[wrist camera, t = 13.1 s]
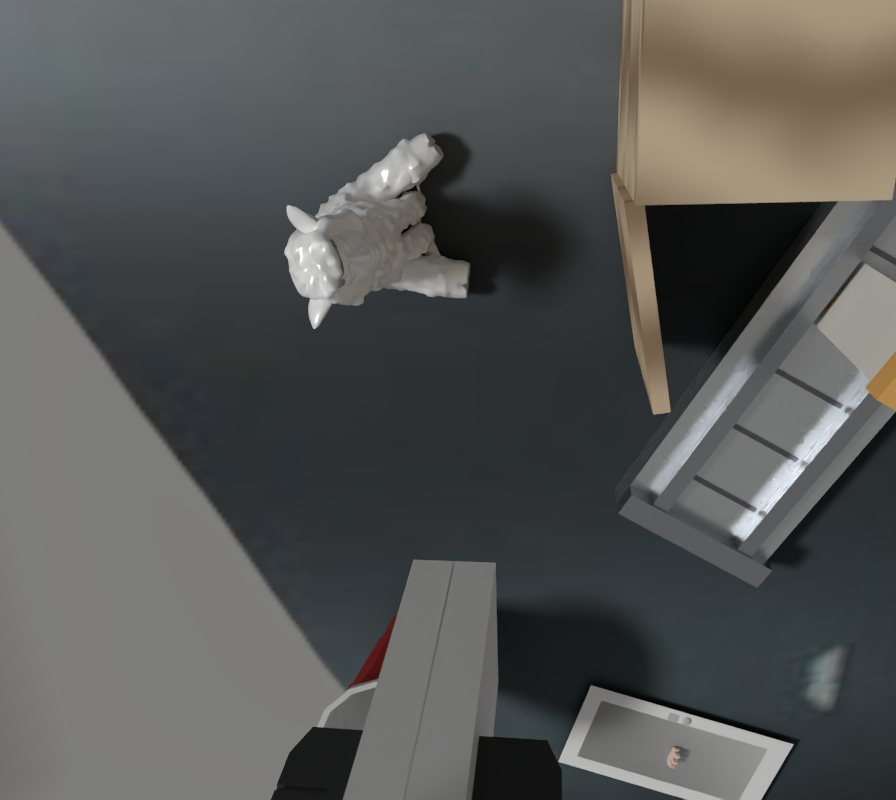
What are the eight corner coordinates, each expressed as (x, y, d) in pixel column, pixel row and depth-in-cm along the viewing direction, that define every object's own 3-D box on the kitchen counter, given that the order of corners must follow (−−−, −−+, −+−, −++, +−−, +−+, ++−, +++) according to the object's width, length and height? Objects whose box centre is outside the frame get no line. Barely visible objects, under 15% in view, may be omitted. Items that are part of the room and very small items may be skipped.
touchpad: (746, 805, 61) (753, 830, 59) (558, 750, 61) (558, 773, 59) (789, 732, 58) (797, 756, 56) (590, 674, 58) (591, 696, 56)
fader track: (746, 558, 52) (757, 587, 49) (614, 488, 52) (618, 513, 49) (1018, 239, 43) (1051, 251, 40) (861, 146, 42) (884, 152, 39)
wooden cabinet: (616, -34, 40) (638, -71, 29) (833, -47, 39) (940, -91, 28) (603, 341, 48) (617, 422, 37) (784, 341, 46) (853, 426, 35)
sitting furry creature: (479, 290, 48) (456, 357, 37) (345, 319, 49) (284, 392, 39) (439, 128, 44) (399, 148, 33) (297, 166, 46) (216, 198, 35)
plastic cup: (520, 587, 55) (510, 715, 44) (488, 703, 60) (472, 846, 49) (368, 552, 56) (322, 670, 45) (348, 669, 60) (301, 803, 49)
